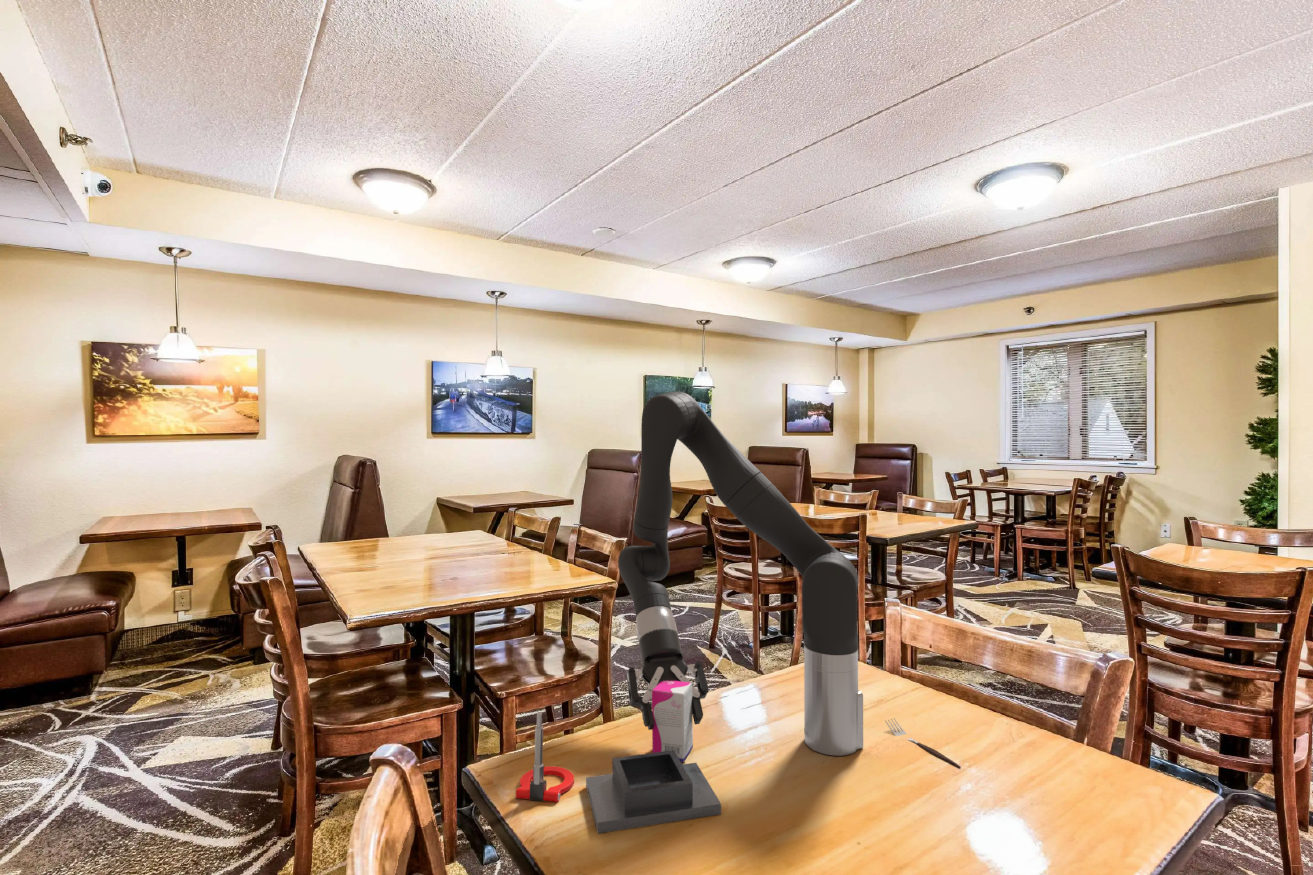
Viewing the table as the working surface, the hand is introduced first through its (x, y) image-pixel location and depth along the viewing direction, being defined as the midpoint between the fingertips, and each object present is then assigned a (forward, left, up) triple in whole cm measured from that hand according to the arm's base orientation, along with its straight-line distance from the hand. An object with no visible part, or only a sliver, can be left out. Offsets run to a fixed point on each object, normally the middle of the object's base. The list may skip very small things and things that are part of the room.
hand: (675, 725), depth 109 cm
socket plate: (+7, +12, -5) cm, 15 cm away
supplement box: (0, -1, -5) cm, 6 cm away
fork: (-43, +8, -6) cm, 44 cm away
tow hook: (+22, +4, -6) cm, 23 cm away
